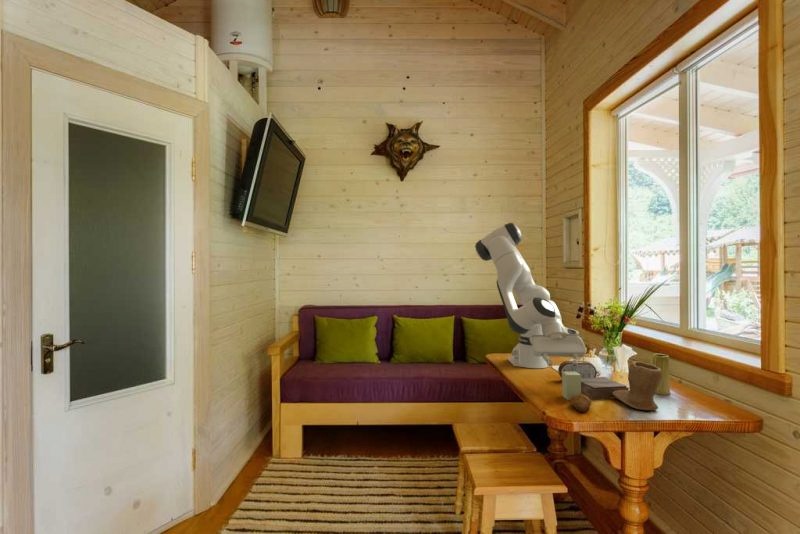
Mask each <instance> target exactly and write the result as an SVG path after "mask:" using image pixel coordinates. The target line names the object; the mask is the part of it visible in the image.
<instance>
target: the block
mask: <svg viewBox="0 0 800 534" xmlns="http://www.w3.org/2000/svg"><path fill="white" fill-rule="evenodd" d="M577 394H582V393H581V375H580V374H579V373H577V372H562V378H561V396H562V397H563V398H564V399H565V398H566V399H567V401H570V400H571V398H572V396H573V395H577ZM566 399H565V400H566Z"/></svg>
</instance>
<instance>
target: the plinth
mask: <svg viewBox="0 0 800 534" xmlns="http://www.w3.org/2000/svg"><path fill="white" fill-rule="evenodd" d="M617 390H628V391H629V387H627V385H625V384H622V383H620V382H619V381H614V379H613V380H612V379H609V378H608V377H605V376H598V377H597V376H596V377H594V378H581V394H583V395H585V396H587V397H588V398H589V399H592V400H602V399H603V400H604V399H618V398H617V397H615V396H614V395H613V394H612V393H613V392H614V391H617Z"/></svg>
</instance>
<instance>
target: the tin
mask: <svg viewBox="0 0 800 534" xmlns="http://www.w3.org/2000/svg"><path fill="white" fill-rule="evenodd" d="M572 361H573V360H565V361H563V362H561V363H560V364H559V366H558V369H557V372H558V375H559V377H561V379H562V372H577V373H579V374H580V375H581V378H594V377H597V373H598V370H597V368H596V366H595V365H594V364H593V363H591V362H590V361H587V360H586V361H580V360H577V363H578V365H577V366H572Z"/></svg>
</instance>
